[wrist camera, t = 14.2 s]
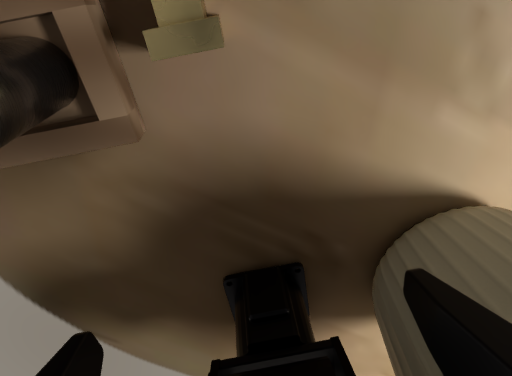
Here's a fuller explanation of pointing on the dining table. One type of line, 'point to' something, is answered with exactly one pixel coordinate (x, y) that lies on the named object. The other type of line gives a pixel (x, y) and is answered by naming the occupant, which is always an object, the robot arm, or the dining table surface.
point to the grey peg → (32, 84)
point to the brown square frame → (90, 82)
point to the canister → (443, 276)
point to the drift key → (182, 29)
